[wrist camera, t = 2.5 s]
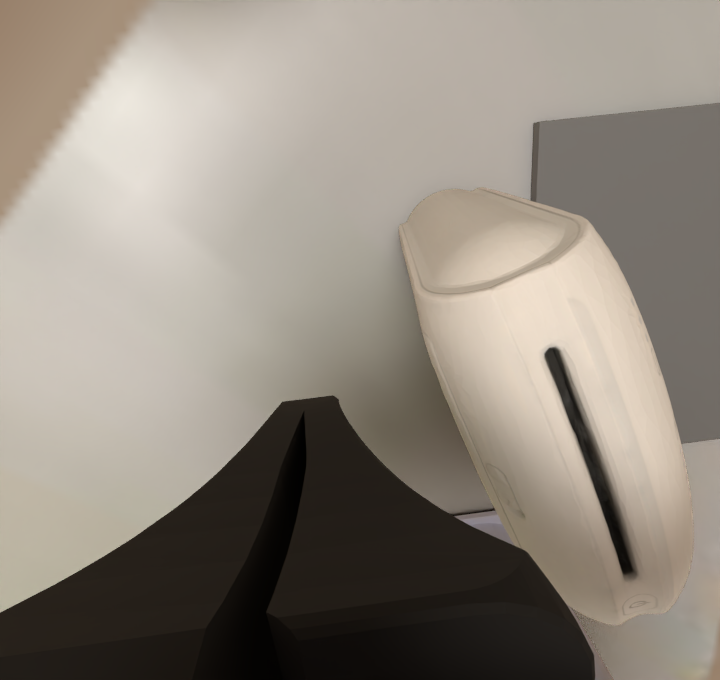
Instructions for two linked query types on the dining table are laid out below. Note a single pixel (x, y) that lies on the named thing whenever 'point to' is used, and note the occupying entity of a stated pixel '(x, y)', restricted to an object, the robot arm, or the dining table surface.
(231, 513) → the robot arm
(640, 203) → the rubber mat
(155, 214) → the dining table surface
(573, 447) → the photo printer
